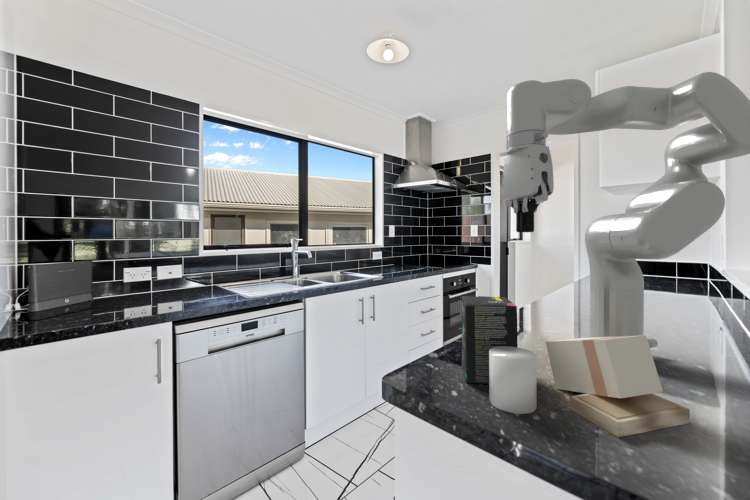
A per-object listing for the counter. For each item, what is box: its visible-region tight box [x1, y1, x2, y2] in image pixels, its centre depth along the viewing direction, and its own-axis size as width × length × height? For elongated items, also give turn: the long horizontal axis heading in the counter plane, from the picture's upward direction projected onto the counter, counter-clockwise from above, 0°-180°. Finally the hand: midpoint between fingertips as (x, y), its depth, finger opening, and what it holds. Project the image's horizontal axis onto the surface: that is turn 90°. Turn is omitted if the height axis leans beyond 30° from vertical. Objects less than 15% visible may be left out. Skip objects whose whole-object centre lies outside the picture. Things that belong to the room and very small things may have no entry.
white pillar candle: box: [488, 346, 538, 415], centre depth 52 cm, size 7×7×8 cm
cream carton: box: [545, 334, 664, 398], centre depth 53 cm, size 8×8×12 cm
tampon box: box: [461, 295, 518, 385], centre depth 63 cm, size 11×9×15 cm
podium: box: [569, 393, 691, 438], centre depth 47 cm, size 13×8×2 cm, turn 104°
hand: (525, 231), depth 68 cm, fingers closed
